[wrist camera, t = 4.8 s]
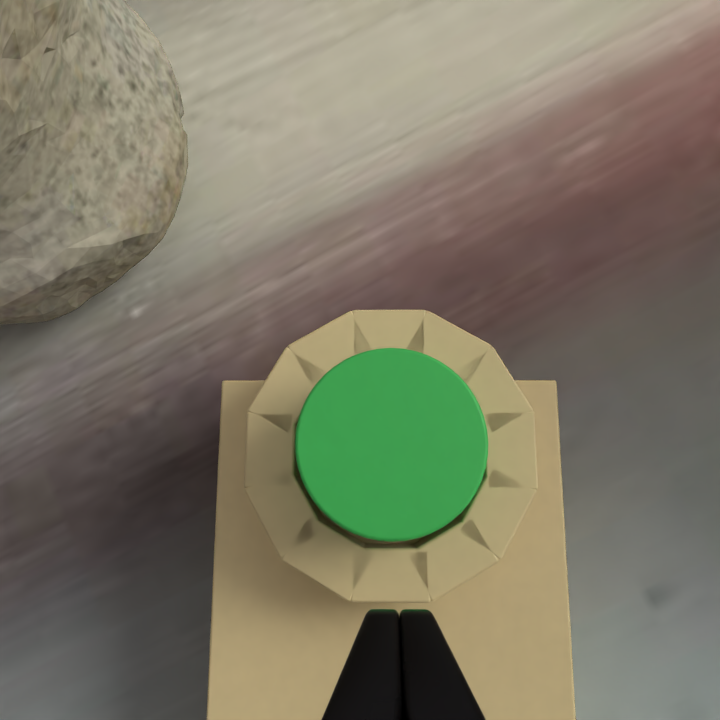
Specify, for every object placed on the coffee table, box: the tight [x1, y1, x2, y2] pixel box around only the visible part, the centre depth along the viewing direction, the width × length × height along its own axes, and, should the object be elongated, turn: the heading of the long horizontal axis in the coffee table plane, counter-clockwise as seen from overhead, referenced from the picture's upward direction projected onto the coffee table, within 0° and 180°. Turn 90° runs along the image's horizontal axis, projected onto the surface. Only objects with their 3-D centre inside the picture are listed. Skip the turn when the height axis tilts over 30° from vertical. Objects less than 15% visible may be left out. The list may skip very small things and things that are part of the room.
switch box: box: [206, 310, 576, 720], centre depth 18 cm, size 13×9×6 cm
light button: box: [295, 348, 488, 542], centre depth 15 cm, size 4×4×2 cm
